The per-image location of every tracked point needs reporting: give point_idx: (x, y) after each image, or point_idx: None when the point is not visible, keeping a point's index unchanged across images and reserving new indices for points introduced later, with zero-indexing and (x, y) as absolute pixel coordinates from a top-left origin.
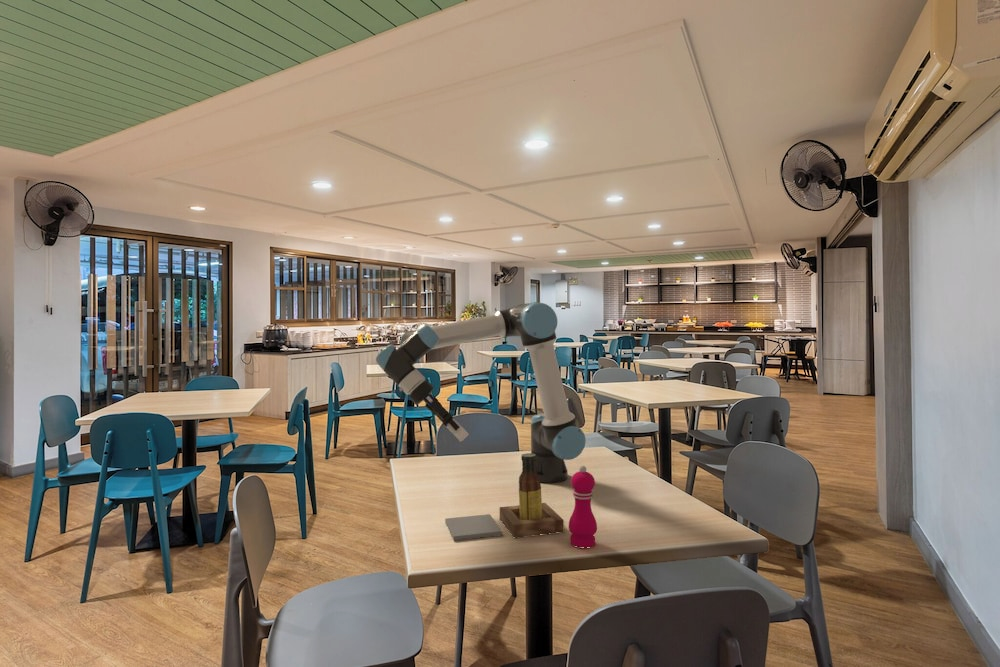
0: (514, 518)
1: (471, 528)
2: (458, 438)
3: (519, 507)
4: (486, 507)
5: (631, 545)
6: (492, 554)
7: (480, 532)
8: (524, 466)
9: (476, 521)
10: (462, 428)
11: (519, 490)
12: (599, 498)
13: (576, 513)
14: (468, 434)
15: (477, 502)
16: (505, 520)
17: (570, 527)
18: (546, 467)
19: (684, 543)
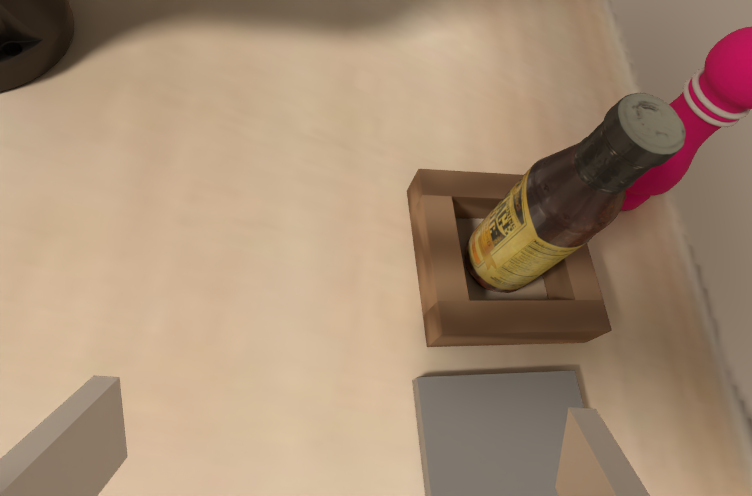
0: (556, 311)
1: (552, 477)
2: (103, 478)
3: (454, 264)
4: (287, 368)
5: (617, 98)
6: (693, 434)
7: None
8: (638, 177)
9: (486, 446)
10: (633, 479)
11: (567, 248)
12: (298, 2)
13: (692, 154)
14: (597, 416)
15: (210, 395)
16: (511, 338)
17: (661, 190)
18: (27, 3)
19: (603, 13)
